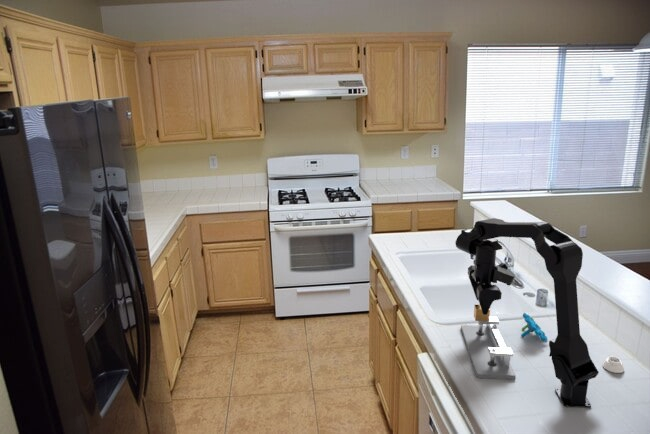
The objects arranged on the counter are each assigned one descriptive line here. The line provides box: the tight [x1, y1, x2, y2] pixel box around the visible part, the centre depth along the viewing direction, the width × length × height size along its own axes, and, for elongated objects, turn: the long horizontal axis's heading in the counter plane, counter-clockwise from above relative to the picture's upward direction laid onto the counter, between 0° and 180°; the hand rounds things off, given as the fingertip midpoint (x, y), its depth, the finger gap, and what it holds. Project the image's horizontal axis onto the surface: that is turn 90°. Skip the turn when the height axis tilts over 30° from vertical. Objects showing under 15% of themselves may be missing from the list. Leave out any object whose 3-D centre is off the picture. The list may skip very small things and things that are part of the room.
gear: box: [520, 312, 548, 342], centre depth 144 cm, size 11×6×10 cm
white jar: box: [602, 355, 625, 374], centre depth 127 cm, size 5×3×5 cm
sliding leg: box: [473, 304, 500, 333], centre depth 143 cm, size 3×7×9 cm, turn 84°
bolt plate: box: [460, 324, 516, 380], centre depth 137 cm, size 26×10×1 cm, turn 174°
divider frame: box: [485, 324, 514, 367], centre depth 138 cm, size 22×6×4 cm, turn 174°
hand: (481, 306), depth 142 cm, fingers open, 9 cm apart
